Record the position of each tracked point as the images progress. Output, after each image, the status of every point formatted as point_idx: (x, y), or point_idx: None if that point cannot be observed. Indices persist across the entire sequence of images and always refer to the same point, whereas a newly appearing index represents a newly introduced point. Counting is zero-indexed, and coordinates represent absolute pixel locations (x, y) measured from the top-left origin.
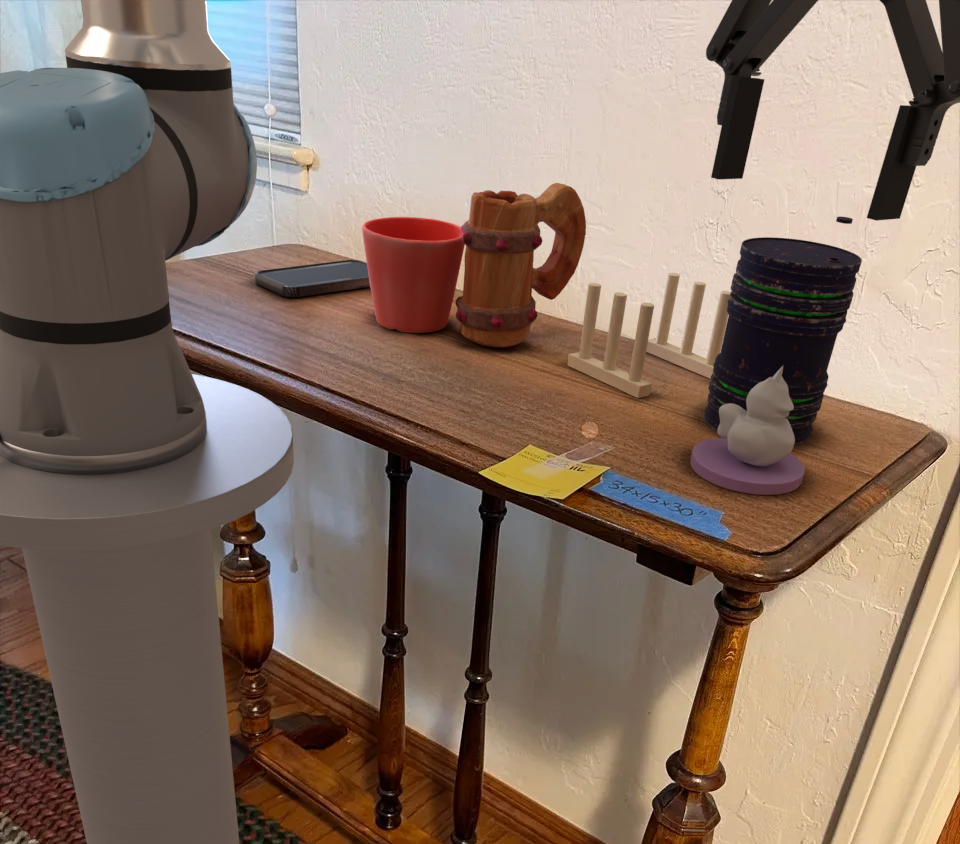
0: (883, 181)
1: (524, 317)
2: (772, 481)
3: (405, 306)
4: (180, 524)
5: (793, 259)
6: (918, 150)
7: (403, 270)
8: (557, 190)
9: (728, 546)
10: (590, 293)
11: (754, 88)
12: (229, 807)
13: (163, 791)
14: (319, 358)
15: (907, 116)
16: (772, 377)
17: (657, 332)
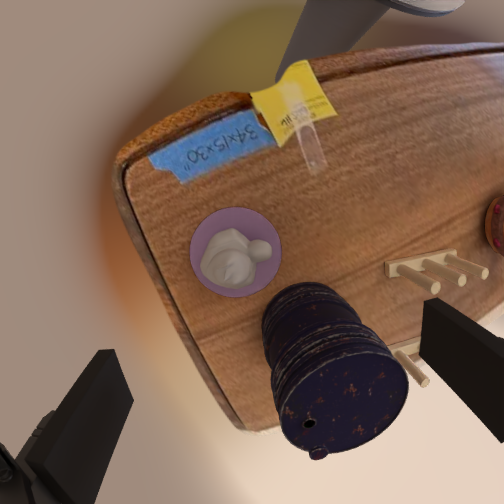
0: (84, 380)
1: (496, 234)
2: (194, 243)
3: None
4: None
5: (329, 384)
6: (41, 425)
7: None
8: None
9: (140, 153)
10: (480, 266)
11: (500, 415)
12: (309, 49)
13: (302, 13)
14: (490, 86)
15: (32, 448)
16: (231, 272)
17: None
